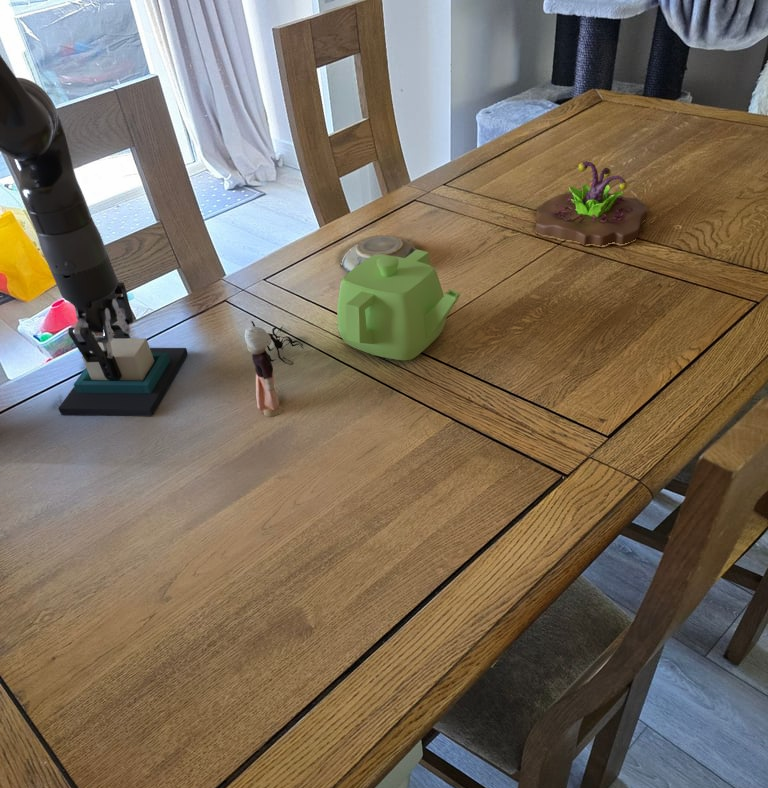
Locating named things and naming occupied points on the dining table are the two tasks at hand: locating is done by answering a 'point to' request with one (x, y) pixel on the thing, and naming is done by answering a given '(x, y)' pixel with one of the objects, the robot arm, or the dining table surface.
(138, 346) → the cream pad
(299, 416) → the dining table surface
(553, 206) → the plant
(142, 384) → the pad
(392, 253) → the decorative bowl
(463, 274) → the dining table surface
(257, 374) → the grandmother figurine
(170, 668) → the dining table surface
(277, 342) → the creature
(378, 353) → the teapot
